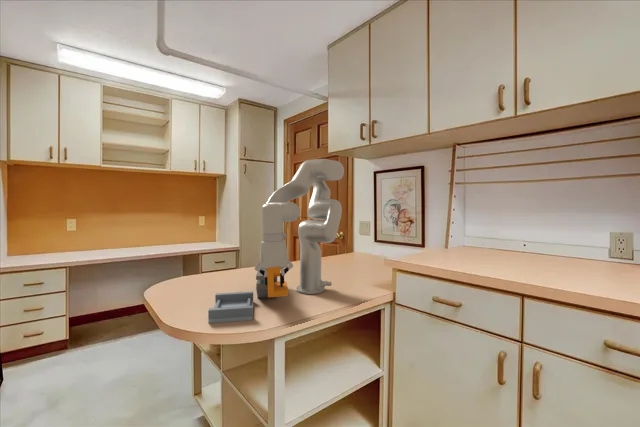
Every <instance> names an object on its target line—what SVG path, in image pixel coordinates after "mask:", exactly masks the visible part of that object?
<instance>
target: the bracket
mask: <svg viewBox="0 0 640 427" xmlns="http://www.w3.org/2000/svg"><path fill="white" fill-rule="evenodd" d="M280 273H281V270H280V266H279V267H270V268H267V281H268V297H273V298H278V297H288V296H289V287H288V284H287V281H286V280H284V284H283V287H281V285H280V281H277V282H274V277H277V278H278V277H280Z"/></svg>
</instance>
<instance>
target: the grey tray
mask: <svg viewBox="0 0 640 427" xmlns="http://www.w3.org/2000/svg"><path fill="white" fill-rule="evenodd" d="M214 297H215V298H214V301H215V303H214V306H213V307H209V309H207V310H208V316H207V317H208V319H207V320H208V324H215V323H229V322H230V323H231V322H244V321H253V318H254V317H253V316H254V291H252V290H251V291H240V292H239V291H236V292H235V291H234V292H219V293H218V292H217V293H215V295H214Z"/></svg>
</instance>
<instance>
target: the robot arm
mask: <svg viewBox="0 0 640 427" xmlns="http://www.w3.org/2000/svg"><path fill="white" fill-rule="evenodd" d="M344 174H345V168H344V165H343V163H341V162H340V161H338V160H333V159H328V158H318V159H317V158H316V159H315V158H314V159H307V160H305V161H304V160H303V162H302V163H300V166H299V167H298V169H297V171H296V172H295V174H294V176H292V179H291V180H290V181H289V182H287V183H286V184H284V185H282V186H281V187H279V188H278V189H276V190H275V191H274V192H273V193H272V194H271V195H270V197H269V198H268V200H267V202H266V203H265V204H263V205H262V206H261V226H262V240H261V241H260V244H259V245H260V246H259V260H258V261H257V263H256V265H255V266H254V270H255V271H256V272H260V273H261V274H262V275H263V276H264V277H265V285H267V288H268V281H267V268H270V267H279V266H280V276H279V282H280V285H281V287H283V284H284V281H285V275H286V274H287V273H288V272H289V270H291V269H292V268H293V267H294V264H293V263H292V261H290V258H289V257H288V256H289V255H288V248H287V243H286V239H285V238H288V233H285V232H284V222H288V223H290V222H291V223H292V222H295V221H296V220H298V219H299V218H300V215H301V209H300V206H299V205H298V204H297V203H295V202H292V201H291V200H295V199H298V198H302V197H303V196H306V195H307V194H308V193H309V192H310V190H311V188H313V189H312V194H311V197H310V200H309V204H308V208H307V216H308V217H309V218H310V219H305V220H303V221H300V223H299V225H298V228H297V234H298V241H299V252H300V253H299V254H300V255H299V256H300V257H299V262H300V263H299V275H300V276H299V285H297V286H296V291H297V292H298V293H300V294H304V295H316V294H321V293H323V292H324V291H325V287H330V286H331V287H332V281H328V280H323V279H322V250H321V246H320V244H319V243H327V244H329V243H333V242H334V241H335V240H336V239H337V238H336V237H337V235H338V230H339V226H340V223H341V219H342V213H343V208H342V204H341V202H340V201H339V200H337V199H333V198H332V199H331V189H330V188H329V186H328V185H327V183H326V181H340V180H341V179H342V178H343V176H344ZM259 267H261V268H262V269H261V268H259ZM263 269H265V271H264V270H263Z"/></svg>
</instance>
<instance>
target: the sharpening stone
mask: <svg viewBox="0 0 640 427" xmlns="http://www.w3.org/2000/svg"><path fill="white" fill-rule="evenodd" d="M259 268H261V267H259ZM261 269H262V268H261ZM263 270H264V271H265V269H263ZM255 281H256V284H255V286H256V287H255V288H256V289H255V290H256V296H257V299H266V298H267V299H268V298H270V299H271V298H274V297H268V288H267V285H265V277H264V276H263V275H262V274H261V273H260V272H258V271H256V276H255ZM274 282H278V276H277V277H274Z"/></svg>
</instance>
